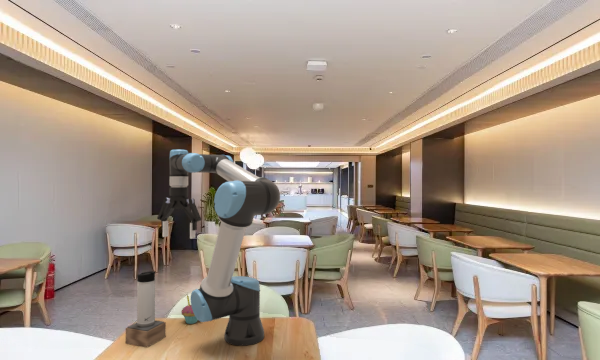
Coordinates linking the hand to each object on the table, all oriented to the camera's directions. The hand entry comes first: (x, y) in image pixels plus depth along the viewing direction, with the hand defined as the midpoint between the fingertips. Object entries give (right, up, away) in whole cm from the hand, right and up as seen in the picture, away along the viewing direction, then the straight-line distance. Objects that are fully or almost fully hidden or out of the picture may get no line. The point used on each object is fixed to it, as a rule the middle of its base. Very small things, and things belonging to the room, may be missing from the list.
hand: (178, 237), depth 162 cm
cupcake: (+4, -37, +4) cm, 37 cm away
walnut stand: (-8, -37, -15) cm, 40 cm away
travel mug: (-8, -31, -15) cm, 35 cm away
